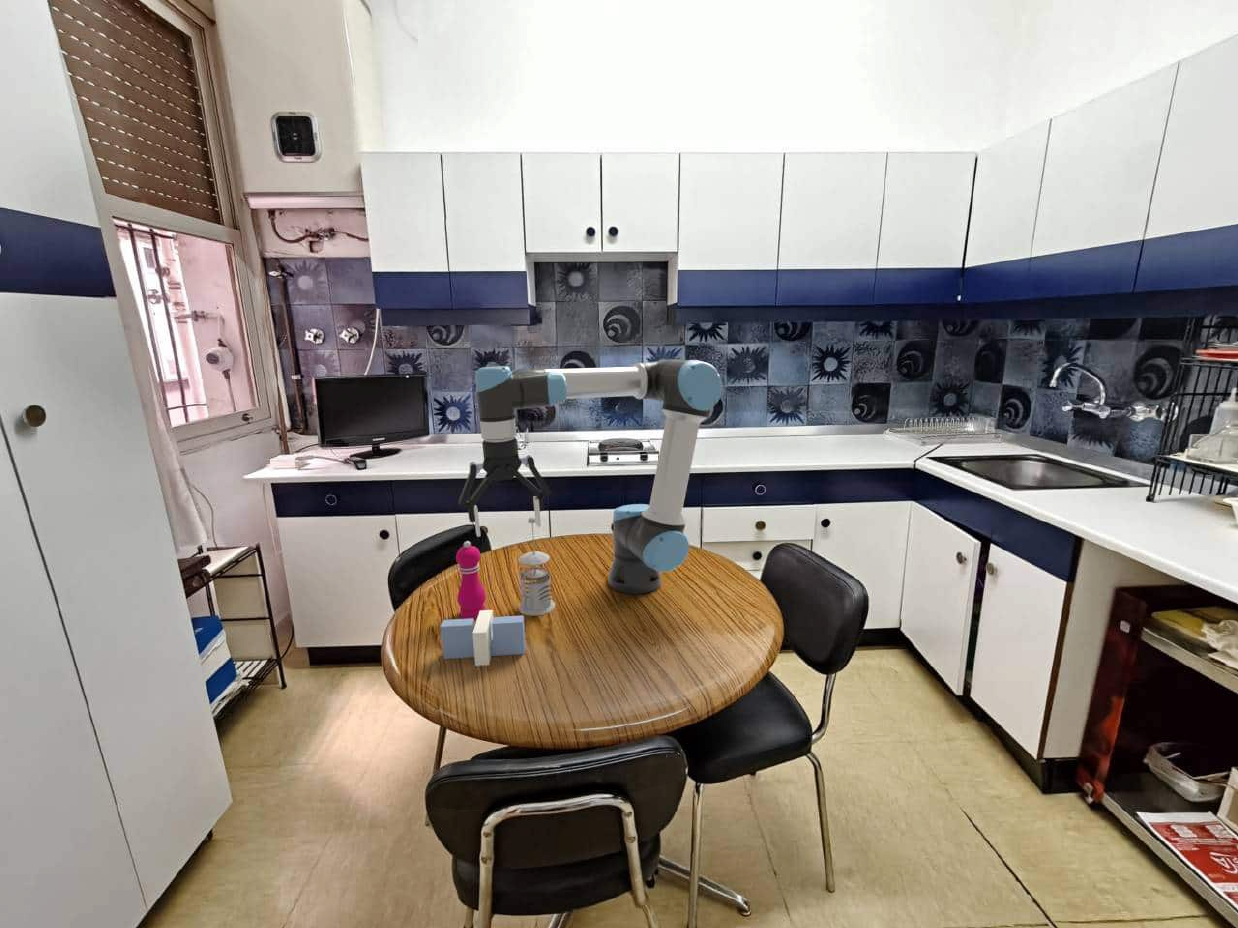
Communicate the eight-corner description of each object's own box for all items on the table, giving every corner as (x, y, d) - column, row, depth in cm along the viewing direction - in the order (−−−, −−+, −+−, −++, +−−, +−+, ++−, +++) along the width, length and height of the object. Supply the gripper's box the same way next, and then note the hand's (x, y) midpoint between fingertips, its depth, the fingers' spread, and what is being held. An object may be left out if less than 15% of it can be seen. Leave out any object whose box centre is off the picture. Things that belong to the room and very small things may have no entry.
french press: (562, 601, 148) (558, 514, 142) (538, 621, 137) (533, 528, 132) (531, 594, 152) (526, 509, 146) (506, 614, 141) (500, 523, 136)
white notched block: (482, 641, 129) (479, 610, 127) (495, 640, 129) (492, 609, 128) (475, 665, 119) (472, 633, 118) (489, 665, 120) (486, 632, 118)
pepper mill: (479, 621, 138) (473, 547, 134) (453, 618, 140) (446, 545, 135) (491, 607, 145) (486, 536, 140) (466, 605, 146) (460, 535, 142)
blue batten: (525, 646, 127) (523, 615, 125) (524, 653, 124) (522, 622, 122) (446, 651, 125) (443, 619, 123) (443, 658, 122) (440, 626, 120)
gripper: (551, 429, 126) (558, 515, 132) (439, 441, 118) (451, 533, 124) (559, 435, 120) (565, 525, 125) (440, 448, 112) (453, 544, 117)
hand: (508, 529), depth 124 cm, fingers open, 13 cm apart
